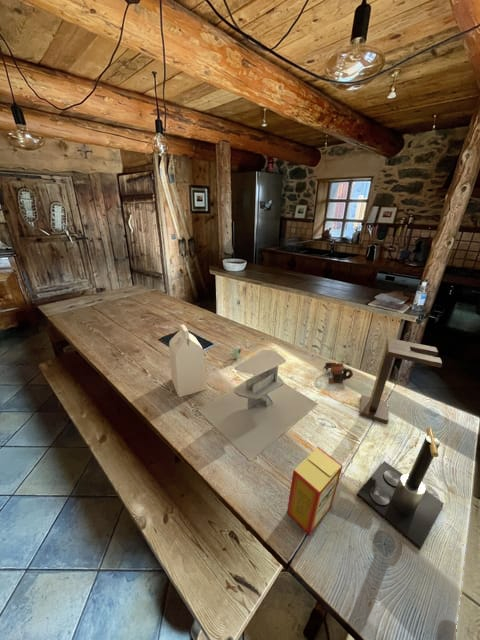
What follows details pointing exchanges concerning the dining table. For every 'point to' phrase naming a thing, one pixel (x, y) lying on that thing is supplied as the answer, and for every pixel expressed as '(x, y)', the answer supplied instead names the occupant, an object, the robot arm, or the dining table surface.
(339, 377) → the pottery mug
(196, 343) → the milk
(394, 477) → the stove
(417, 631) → the dining table surface
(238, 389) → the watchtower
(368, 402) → the stand
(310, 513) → the baking soda box
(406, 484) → the handle in metal cup
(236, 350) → the robot head
